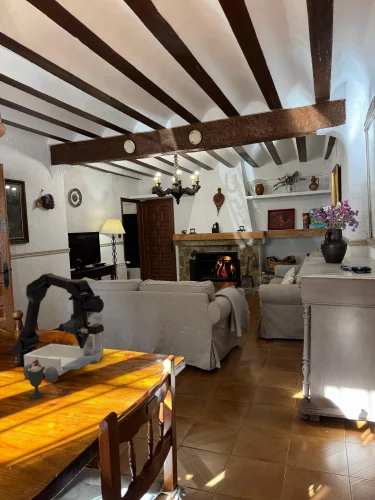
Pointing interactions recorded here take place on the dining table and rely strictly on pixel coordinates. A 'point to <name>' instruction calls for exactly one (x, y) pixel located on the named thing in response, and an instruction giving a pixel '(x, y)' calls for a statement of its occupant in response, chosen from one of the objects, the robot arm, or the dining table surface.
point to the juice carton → (94, 338)
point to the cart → (53, 359)
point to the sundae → (35, 377)
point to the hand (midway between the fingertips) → (82, 348)
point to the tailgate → (79, 362)
